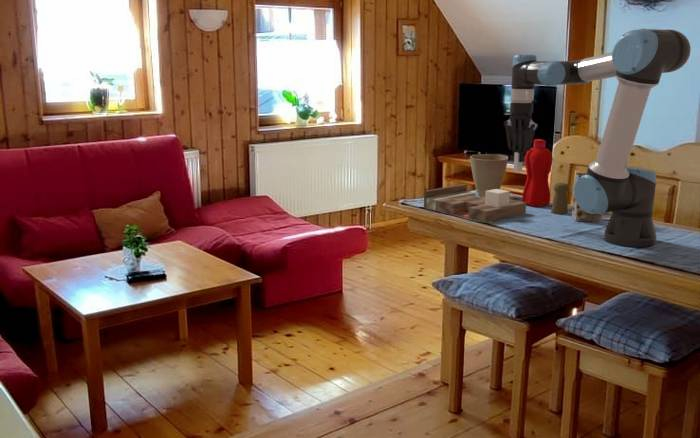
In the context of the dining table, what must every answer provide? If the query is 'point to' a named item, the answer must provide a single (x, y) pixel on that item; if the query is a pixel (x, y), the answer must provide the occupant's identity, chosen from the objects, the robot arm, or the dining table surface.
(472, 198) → the wooden board
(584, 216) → the coffee box
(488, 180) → the plant pot
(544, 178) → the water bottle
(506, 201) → the block
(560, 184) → the cork
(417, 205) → the dining table surface
